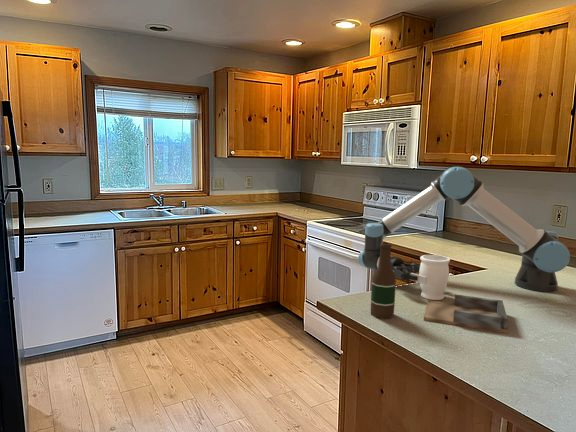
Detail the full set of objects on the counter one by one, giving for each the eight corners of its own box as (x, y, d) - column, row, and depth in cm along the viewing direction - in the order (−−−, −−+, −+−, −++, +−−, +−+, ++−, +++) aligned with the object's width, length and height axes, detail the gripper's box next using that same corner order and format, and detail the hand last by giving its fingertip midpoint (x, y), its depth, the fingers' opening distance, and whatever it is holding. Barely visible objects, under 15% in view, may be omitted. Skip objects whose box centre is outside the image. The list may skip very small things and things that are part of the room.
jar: (424, 290, 165) (426, 253, 162) (451, 296, 158) (454, 257, 156) (413, 297, 156) (415, 257, 154) (441, 303, 150) (444, 262, 148)
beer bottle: (365, 314, 139) (368, 243, 135) (378, 308, 144) (382, 239, 141) (385, 321, 133) (389, 247, 130) (398, 315, 139) (402, 243, 135)
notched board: (502, 313, 141) (503, 300, 141) (507, 333, 126) (508, 318, 125) (427, 303, 150) (428, 290, 150) (423, 320, 135) (424, 306, 134)
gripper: (409, 269, 180) (455, 281, 163) (369, 279, 165) (415, 293, 148) (410, 252, 178) (456, 262, 162) (370, 260, 163) (417, 273, 147)
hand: (437, 277), depth 155 cm, fingers open, 13 cm apart
